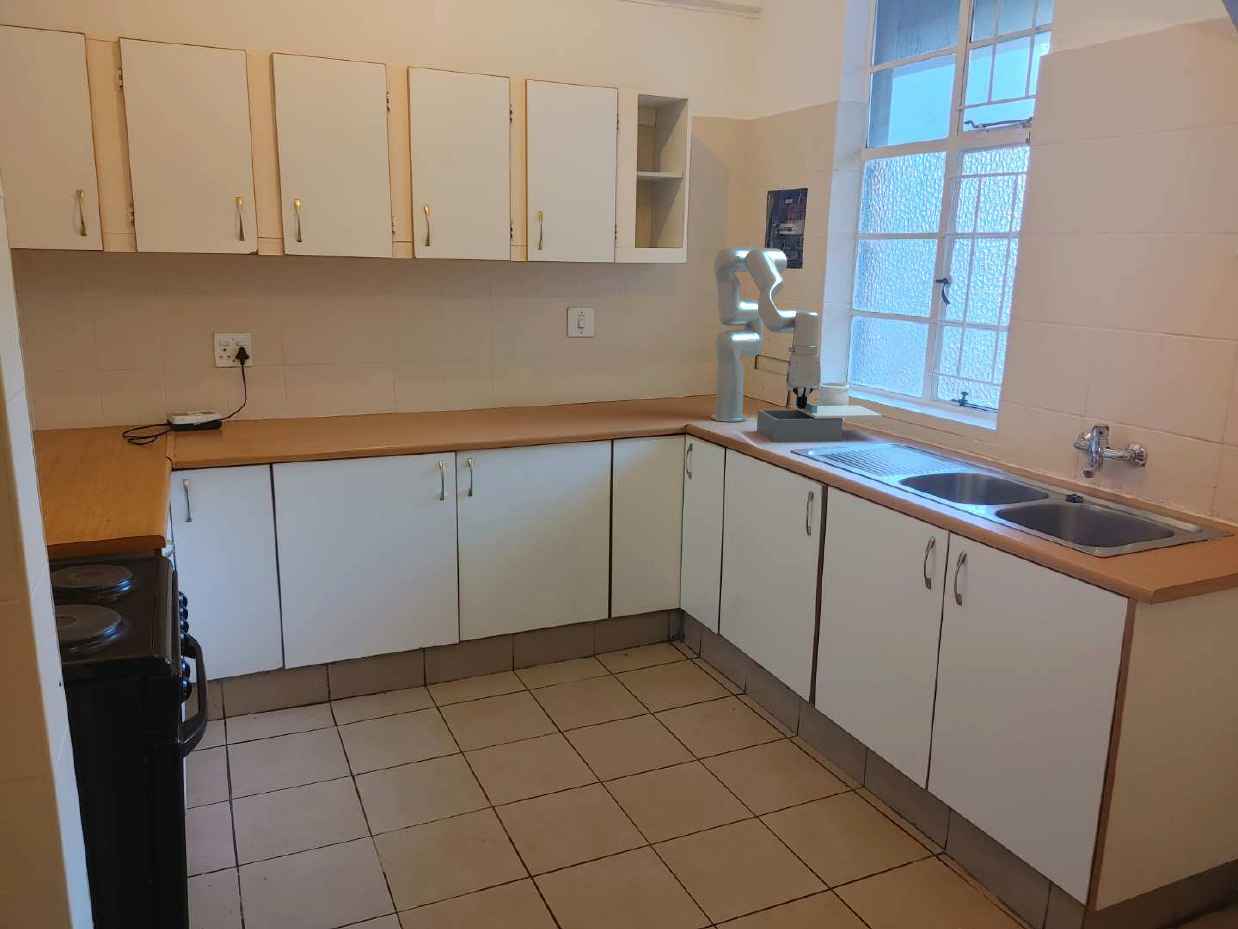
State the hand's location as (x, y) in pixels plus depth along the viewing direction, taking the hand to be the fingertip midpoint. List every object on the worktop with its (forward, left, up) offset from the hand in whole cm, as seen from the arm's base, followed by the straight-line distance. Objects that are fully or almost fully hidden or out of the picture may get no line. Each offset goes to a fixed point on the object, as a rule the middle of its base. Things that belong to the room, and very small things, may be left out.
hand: (801, 408), depth 293 cm
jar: (-17, +18, -10) cm, 26 cm away
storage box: (0, 0, -10) cm, 10 cm away
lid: (0, +13, -2) cm, 13 cm away
